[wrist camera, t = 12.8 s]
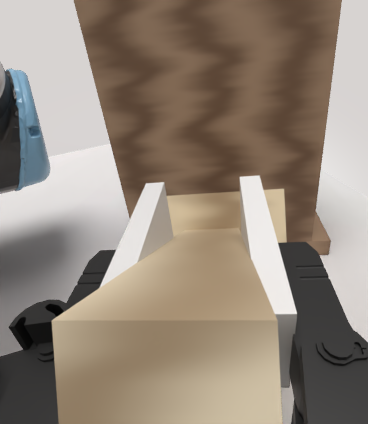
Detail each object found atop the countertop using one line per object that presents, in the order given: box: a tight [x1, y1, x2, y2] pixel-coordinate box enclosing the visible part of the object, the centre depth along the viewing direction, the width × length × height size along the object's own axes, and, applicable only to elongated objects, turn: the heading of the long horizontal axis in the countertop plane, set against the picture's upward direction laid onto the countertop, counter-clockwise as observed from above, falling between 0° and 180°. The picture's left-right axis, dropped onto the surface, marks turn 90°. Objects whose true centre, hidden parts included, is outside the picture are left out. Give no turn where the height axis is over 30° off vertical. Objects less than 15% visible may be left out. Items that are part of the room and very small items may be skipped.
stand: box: [74, 0, 342, 255], centre depth 31 cm, size 24×7×30 cm, turn 85°
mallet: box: [52, 189, 287, 424], centre depth 14 cm, size 8×21×7 cm
